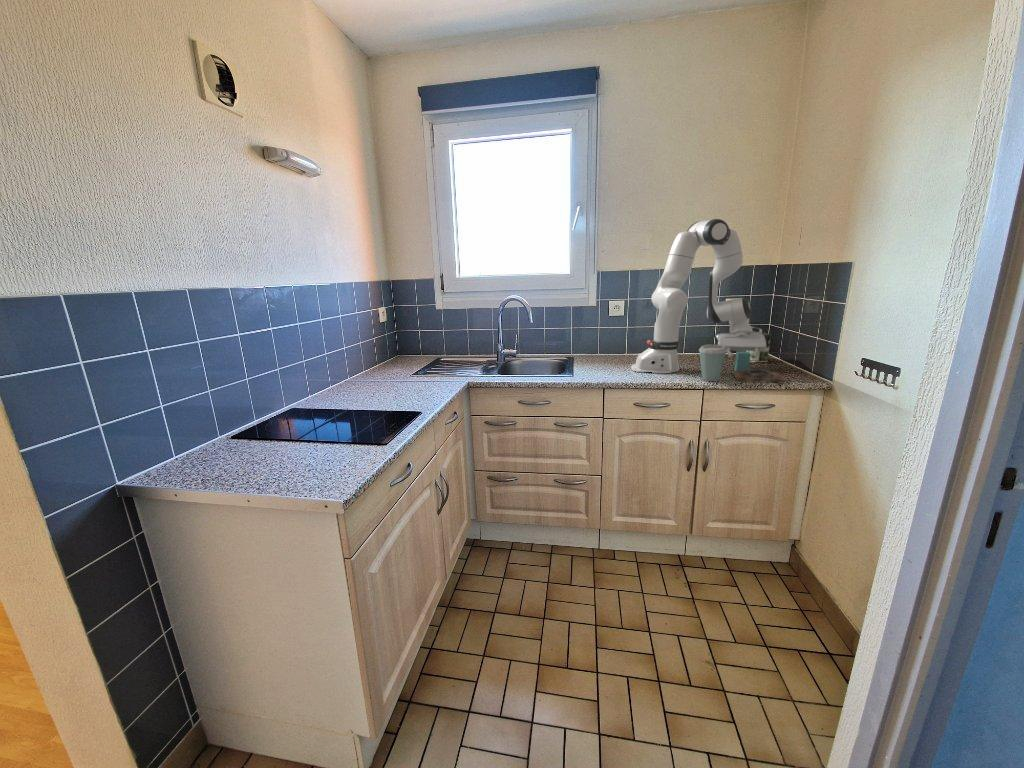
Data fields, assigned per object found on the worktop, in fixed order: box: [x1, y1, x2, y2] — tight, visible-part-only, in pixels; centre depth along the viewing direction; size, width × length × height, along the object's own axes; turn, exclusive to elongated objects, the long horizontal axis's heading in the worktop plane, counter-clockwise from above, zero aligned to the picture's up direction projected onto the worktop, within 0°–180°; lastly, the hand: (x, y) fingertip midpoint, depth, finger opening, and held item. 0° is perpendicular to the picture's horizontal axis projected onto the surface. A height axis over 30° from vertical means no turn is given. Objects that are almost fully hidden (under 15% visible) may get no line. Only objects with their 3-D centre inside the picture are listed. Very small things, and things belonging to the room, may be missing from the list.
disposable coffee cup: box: [698, 343, 727, 382], centre depth 176 cm, size 11×11×15 cm
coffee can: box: [745, 332, 772, 363], centre depth 209 cm, size 10×10×14 cm
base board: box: [731, 368, 788, 383], centre depth 178 cm, size 18×13×3 cm
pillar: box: [733, 350, 751, 371], centre depth 190 cm, size 5×5×9 cm
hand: (742, 357), depth 190 cm, fingers open, 8 cm apart
